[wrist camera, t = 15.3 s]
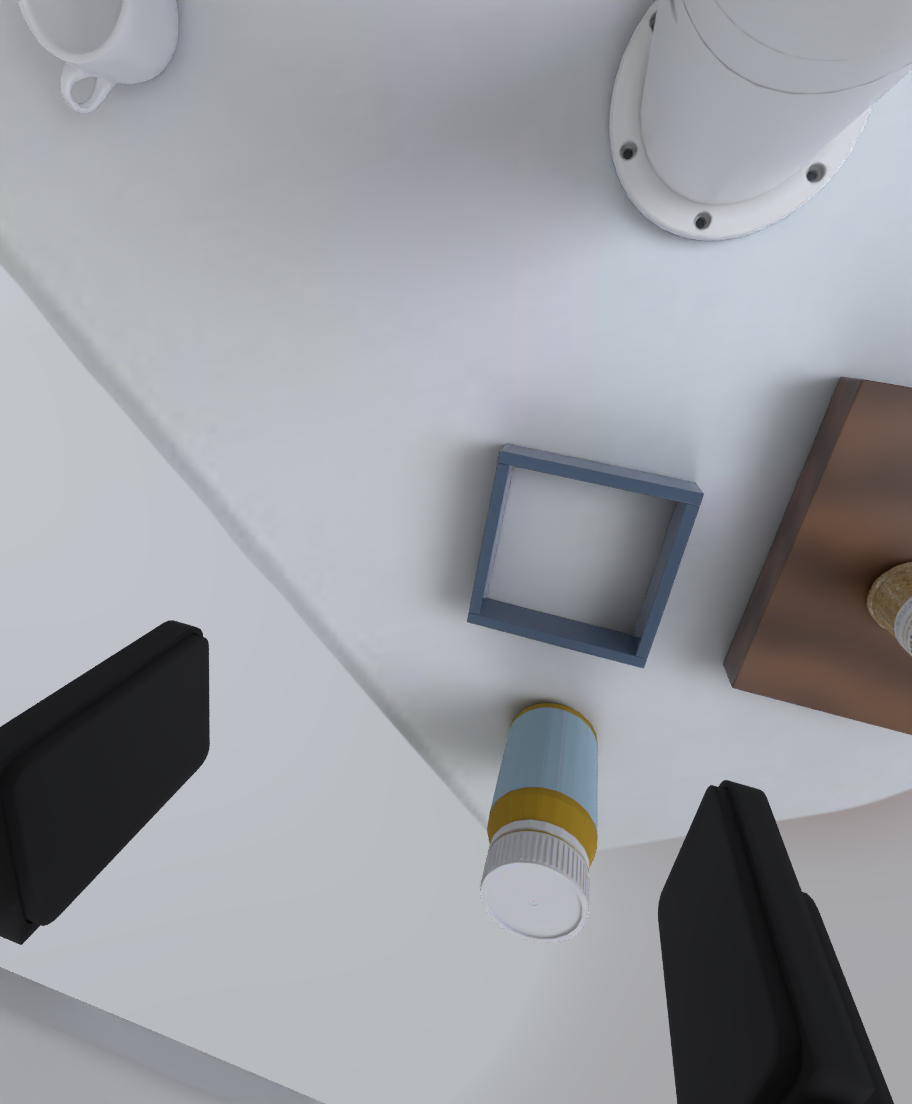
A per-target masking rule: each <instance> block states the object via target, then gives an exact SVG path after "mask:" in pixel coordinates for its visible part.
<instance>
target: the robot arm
mask: <svg viewBox="0 0 912 1104" xmlns="http://www.w3.org/2000/svg"><path fill="white" fill-rule="evenodd" d="M653 27H654V30H652V29H653ZM911 70H912V0H655V1H654V2H653V3H652V5H651V6H650V8H649V9H648V11H647V12H646V14H645V15H644V17H643V18H642V20H641V21H640V23H639V24H638V26H637V28H636V29H635V31H634V33H633V35H632V37H631V39H630V41H629V44H628V46H627V48H626V50H625V52H624V54H623V56H622V59H621V62H620V66H619V69H618V72H617V76H616V79H615V83H614V86H613V93H612V100H611V108H610V123H609V134H610V143H611V152H612V158H613V162H614V165H615V168H616V172H617V175H618V178H619V180H620V182H621V184H622V186H623V188H624V190H625V192H626V194H627V195H628V197H629V199H630V200H631V201H632V203H633V204H634V205H635V206H636V207H637V208H638V210H639V211H640V212H641V213H642V214H643V215H644V216H645V217H646V218H648V219H649V220H650V221H652V222H653V223H654V224H656V225H657V226H658V227H660V228H662V229H664V230H666V231H668V232H671V233H673V234H675V235H677V236H680V237H685V238H690V239H695V240H700V241H709V240H727V239H732V238H737V237H742V236H746V235H749V234H752V233H754V232H757V231H759V230H762V229H764V228H767V227H769V226H771V225H773V224H775V223H776V222H778V221H780V220H781V219H783V218H785V217H786V216H788V215H790V214H791V213H793V212H794V211H795V210H797V209H798V208H799V207H801V206H802V205H803V204H805V203H806V202H807V201H809V200H810V199H811V198H812V197H813V196H814V195H815V194H816V193H818V192H819V191H820V190H821V189H822V188H823V187H824V186H825V185H826V184H827V183H828V182H829V181H830V180H831V178H832V177H833V176H834V174H835V173H836V172H837V171H838V169H839V168H840V167H841V165H842V164H843V163H844V161H845V160H846V159H847V157H848V156H849V155H850V153H851V151H852V149H853V148H854V146H855V144H856V142H857V140H858V138H859V137H860V135H861V133H862V131H863V129H864V127H865V125H866V123H867V120H868V117H869V114H870V112H871V109H872V106H873V104H874V103H875V102H876V101H877V100H878V99H880V98H881V97H882V96H883V95H884V94H885V93H886V92H887V91H889V90H890V89H891V88H892V87H893V86H894V85H895V84H897V83H898V82H899V81H900V80H901V79H902V78H903V77H905V76H906V75H907V74H908V73H909V72H910V71H911ZM628 150H630V151H631V152H632V153H633V156H632V157H631V158H630V159H625V158H624V157H623V154H624V152H626V151H628ZM808 172H812V173H814V174H815V179H814V181H812V182H809V181H808V179H807V177H806V176H807V174H808ZM698 219H703V220H704V221H705V226H704V227H703V228H698V227H697V226H696V221H697V220H698ZM209 744H210V741H209V644H208V640H207V639H206V638H204V637H203V633H202V631H201V629H199V628H197V627H194V626H190V625H187V624H184V623H180V622H177V621H167V622H165V623H163V624H161V625H160V626H158V627H156V628H155V629H153V630H152V631H150V632H149V633H147V634H146V635H144V636H142V637H141V638H139V639H138V640H136V641H134V642H133V643H131V644H130V645H128V646H127V647H125V648H123V649H122V650H121V651H119V652H117V653H116V654H114V655H112V656H111V657H109V658H108V659H106V660H105V661H103V662H102V663H100V664H98V665H97V666H95V667H94V668H92V669H91V670H89V671H87V672H86V673H84V674H83V675H81V676H80V677H78V678H76V679H75V680H73V681H72V682H70V683H69V684H67V685H65V686H64V687H62V688H61V689H59V690H58V691H56V692H54V693H53V694H51V695H50V696H48V697H47V698H45V699H44V700H42V701H40V702H39V703H37V704H36V705H34V706H32V707H31V708H29V709H28V710H26V711H25V712H23V713H22V714H20V715H18V716H17V717H15V718H14V719H12V720H10V721H9V722H7V723H6V724H4V725H3V726H1V727H0V936H1V937H3V938H6V939H8V940H11V941H13V942H16V943H18V944H20V945H22V944H23V943H24V942H25V941H26V940H27V939H28V938H29V937H30V936H31V935H32V934H33V932H34V931H35V930H36V929H37V928H38V927H39V926H40V925H42V926H44V925H48V924H50V923H51V922H53V921H54V920H55V919H56V918H57V917H58V916H59V915H60V914H61V913H62V912H63V911H64V910H65V909H66V908H67V907H68V906H69V905H70V904H71V903H72V902H73V901H74V899H75V898H76V897H77V896H78V895H79V894H80V893H81V892H82V891H83V890H84V889H85V888H86V887H87V886H88V885H89V884H90V882H92V881H93V880H94V878H95V877H96V876H97V875H98V874H99V873H100V872H101V871H102V870H103V869H104V868H105V867H106V866H107V865H108V863H110V862H111V860H112V859H113V858H114V857H115V856H116V855H117V854H118V853H119V852H120V851H121V850H122V849H123V848H124V847H125V846H126V845H127V844H128V842H129V841H130V840H131V839H132V838H133V837H134V836H135V835H136V834H137V833H138V832H139V831H140V830H141V829H142V828H143V827H144V826H145V824H146V823H147V822H148V821H149V820H150V819H151V818H152V817H153V816H154V815H155V814H156V813H157V812H158V811H159V810H160V809H161V808H162V807H163V806H164V804H165V803H166V802H167V801H168V800H169V799H170V798H171V797H172V796H173V795H174V794H175V793H176V792H177V791H178V790H179V789H180V788H181V786H182V785H183V784H184V783H185V782H186V781H187V780H188V779H189V778H190V777H191V776H192V775H193V774H194V773H195V772H196V771H197V770H198V769H199V767H200V766H201V765H202V764H203V762H204V760H205V759H206V757H207V755H208V751H209V746H210V745H209ZM658 922H659V931H660V941H661V950H662V960H663V970H664V980H665V989H666V998H667V1008H668V1018H669V1028H670V1036H671V1047H672V1056H673V1066H674V1076H675V1085H676V1094H677V1104H894V1103H893V1100H892V1097H891V1095H890V1092H889V1090H888V1087H887V1085H886V1082H885V1080H884V1077H883V1074H882V1072H881V1069H880V1067H879V1064H878V1062H877V1059H876V1056H875V1054H874V1051H873V1049H872V1046H871V1044H870V1041H869V1038H868V1036H867V1033H866V1031H865V1028H864V1026H863V1023H862V1020H861V1018H860V1016H859V1013H858V1010H857V1008H856V1005H855V1002H854V1000H853V998H852V995H851V992H850V990H849V987H848V985H847V982H846V979H845V977H844V975H843V972H842V969H841V967H840V964H839V961H838V959H837V957H836V954H835V951H834V949H833V946H832V944H831V941H830V938H829V936H828V933H827V931H826V928H825V926H824V923H823V920H822V918H821V915H820V913H819V910H818V908H817V907H816V905H815V903H814V901H813V899H812V898H811V897H810V896H809V895H808V894H807V893H804V892H802V891H801V888H800V886H799V883H798V880H797V878H796V875H795V872H794V870H793V867H792V864H791V862H790V859H789V856H788V853H787V851H786V848H785V845H784V843H783V840H782V837H781V835H780V832H779V829H778V827H777V824H776V821H775V819H774V816H773V813H772V811H771V808H770V805H769V802H768V800H767V797H766V795H765V794H764V792H763V791H761V790H759V789H756V788H752V787H749V786H745V785H742V784H738V783H735V782H731V781H728V780H724V781H723V782H722V783H721V784H720V785H719V787H716V786H713V785H711V786H709V787H708V788H707V790H706V792H705V794H704V797H703V799H702V801H701V804H700V806H699V808H698V810H697V813H696V815H695V817H694V820H693V822H692V824H691V826H690V829H689V831H688V833H687V836H686V838H685V840H684V842H683V845H682V847H681V849H680V852H679V854H678V856H677V858H676V861H675V863H674V865H673V867H672V870H671V872H670V875H669V877H668V879H667V881H666V883H665V886H664V888H663V890H662V893H661V896H660V900H659V906H658ZM0 1104H324V1103H322V1102H320V1101H317V1100H315V1099H313V1098H310V1097H308V1096H306V1095H303V1094H301V1093H298V1092H296V1091H294V1090H292V1089H289V1088H287V1087H284V1086H282V1085H280V1084H277V1083H275V1082H273V1081H270V1080H268V1079H265V1078H263V1077H261V1076H259V1075H256V1074H254V1073H252V1072H249V1071H247V1070H244V1069H242V1068H240V1067H237V1066H235V1065H233V1064H230V1063H228V1062H225V1061H223V1060H221V1059H218V1058H216V1057H214V1056H211V1055H209V1054H207V1053H204V1052H202V1051H199V1050H197V1049H195V1048H192V1047H190V1046H187V1045H185V1044H183V1043H180V1042H178V1041H176V1040H173V1039H171V1038H169V1037H166V1036H164V1035H161V1034H159V1033H157V1032H154V1031H152V1030H150V1029H147V1028H145V1027H142V1026H140V1025H138V1024H135V1023H133V1022H130V1021H128V1020H126V1019H123V1018H121V1017H119V1016H116V1015H114V1014H111V1013H109V1012H107V1011H104V1010H102V1009H99V1008H97V1007H95V1006H92V1005H90V1004H87V1003H85V1002H82V1001H80V1000H78V999H75V998H73V997H71V996H68V995H65V994H63V993H61V992H58V991H56V990H54V989H51V988H49V987H46V986H44V985H42V984H39V983H37V982H34V981H32V980H30V979H27V978H25V977H22V976H20V975H17V974H15V973H13V972H10V971H8V970H5V969H3V968H1V967H0Z"/></svg>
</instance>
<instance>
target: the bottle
mask: <svg viewBox="0 0 912 1104" xmlns="http://www.w3.org/2000/svg"><path fill="white" fill-rule="evenodd" d="M597 798H598V748H597V738H596V734H595V731H594V729H593V728H592V726H591V724H590V723H589V721H588V720H587V719H586V718H585V717H583V716H582V715H581V714H580V713H579V712H577V711H575V710H573V709H571V708H569V707H567V706H564V705H559V704H555V703H540V704H536V705H533V706H530V707H527V708H525V709H524V710H523V711H521V712H520V713H519V714H518V715H517V716H516V717H515V718H514V720H513V722H512V723H511V726H510V730H509V733H508V737H507V742H506V746H505V750H504V754H503V759H502V763H501V767H500V772H499V776H498V780H497V784H496V789H495V793H494V797H493V802H492V806H491V810H490V815H489V821H488V827H487V832H488V837H489V842H490V846H489V850H488V855H487V858H486V863H485V867H484V872H483V877H482V881H481V889H480V891H481V900H482V903H483V906H484V908H485V909H486V911H487V913H488V914H489V916H490V917H491V918H492V919H493V920H494V922H495V923H497V924H498V925H499V926H500V927H502V928H503V929H504V930H506V931H507V932H509V933H511V934H513V935H515V936H517V937H520V938H522V939H525V940H529V941H533V942H540V943H555V942H561V941H564V940H567V939H570V938H571V937H573V936H575V935H576V934H578V933H579V932H580V931H581V930H582V928H583V927H584V925H585V924H586V921H587V917H588V915H589V890H590V889H589V888H590V878H589V867H590V865H591V863H592V861H593V859H594V857H595V853H596V849H597Z"/></svg>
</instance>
